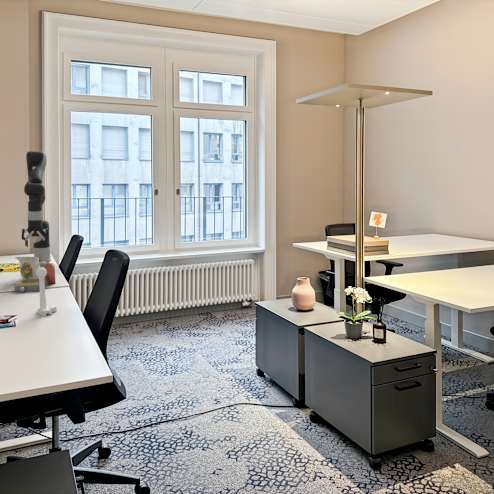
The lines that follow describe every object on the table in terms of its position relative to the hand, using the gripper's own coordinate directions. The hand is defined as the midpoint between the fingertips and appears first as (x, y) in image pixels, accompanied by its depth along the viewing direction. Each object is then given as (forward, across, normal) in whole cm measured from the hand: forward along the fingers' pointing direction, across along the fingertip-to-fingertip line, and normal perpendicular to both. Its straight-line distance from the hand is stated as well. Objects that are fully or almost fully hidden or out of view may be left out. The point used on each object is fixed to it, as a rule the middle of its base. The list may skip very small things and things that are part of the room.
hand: (35, 246), depth 294 cm
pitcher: (+20, +2, +1) cm, 20 cm away
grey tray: (+17, +3, +28) cm, 33 cm away
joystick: (+13, -3, +83) cm, 84 cm away
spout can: (+18, -7, +16) cm, 25 cm away
